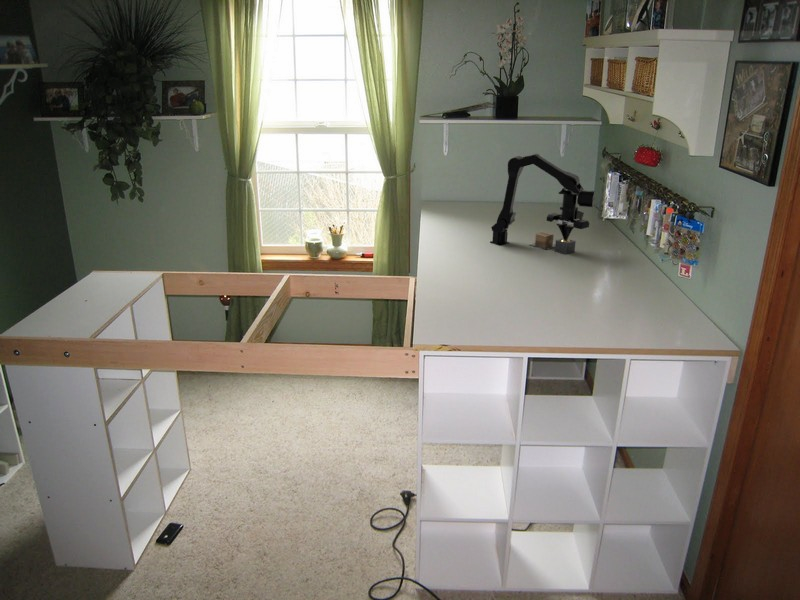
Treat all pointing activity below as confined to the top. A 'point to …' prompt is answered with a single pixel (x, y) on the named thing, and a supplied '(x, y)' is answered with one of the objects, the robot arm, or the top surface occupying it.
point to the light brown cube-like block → (544, 239)
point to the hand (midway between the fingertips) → (565, 240)
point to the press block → (565, 246)
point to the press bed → (543, 247)
